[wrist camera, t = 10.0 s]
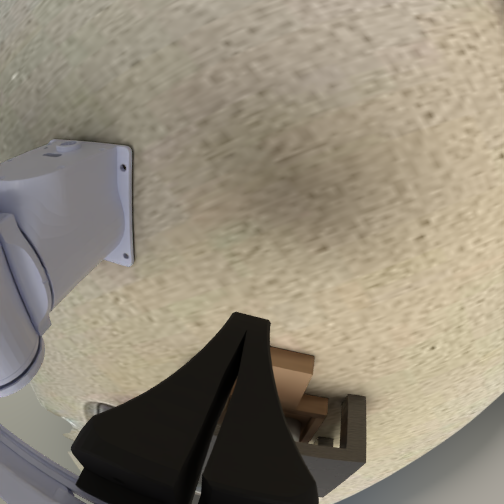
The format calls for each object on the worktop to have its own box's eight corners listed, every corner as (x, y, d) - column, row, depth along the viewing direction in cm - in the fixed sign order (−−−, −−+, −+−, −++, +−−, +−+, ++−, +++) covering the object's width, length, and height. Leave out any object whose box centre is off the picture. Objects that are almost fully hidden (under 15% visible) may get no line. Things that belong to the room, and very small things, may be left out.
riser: (191, 357, 28) (163, 419, 22) (365, 396, 27) (365, 462, 21) (191, 413, 34) (170, 463, 28) (328, 445, 32) (322, 497, 26)
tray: (231, 336, 26) (216, 377, 22) (348, 362, 25) (348, 406, 21) (219, 419, 33) (208, 451, 30) (303, 438, 32) (298, 471, 28)
